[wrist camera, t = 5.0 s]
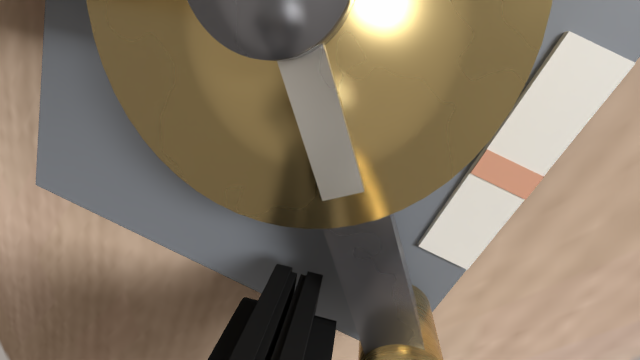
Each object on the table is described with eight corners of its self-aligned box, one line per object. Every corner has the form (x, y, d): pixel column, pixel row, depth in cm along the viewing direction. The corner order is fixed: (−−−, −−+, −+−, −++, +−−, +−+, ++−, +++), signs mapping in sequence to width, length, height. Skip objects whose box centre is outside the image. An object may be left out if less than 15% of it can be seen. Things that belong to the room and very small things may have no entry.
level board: (142, -754, 5) (80, -976, 4) (942, -370, 5) (1094, -488, 4) (59, 176, 13) (29, 186, 12) (393, 337, 13) (395, 363, 12)
